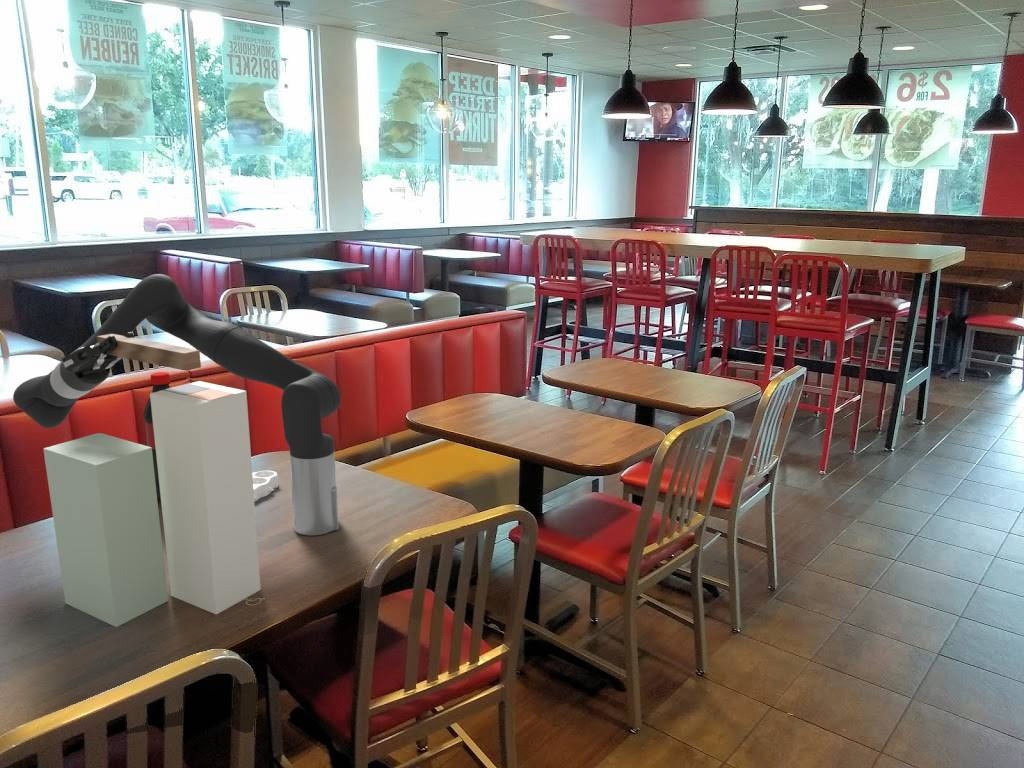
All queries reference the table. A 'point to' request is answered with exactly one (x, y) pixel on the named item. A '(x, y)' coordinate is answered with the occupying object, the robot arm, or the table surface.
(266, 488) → the white brass knuckles
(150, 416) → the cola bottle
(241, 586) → the stand
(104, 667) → the table surface
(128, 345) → the bar
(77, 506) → the step
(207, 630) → the table surface
